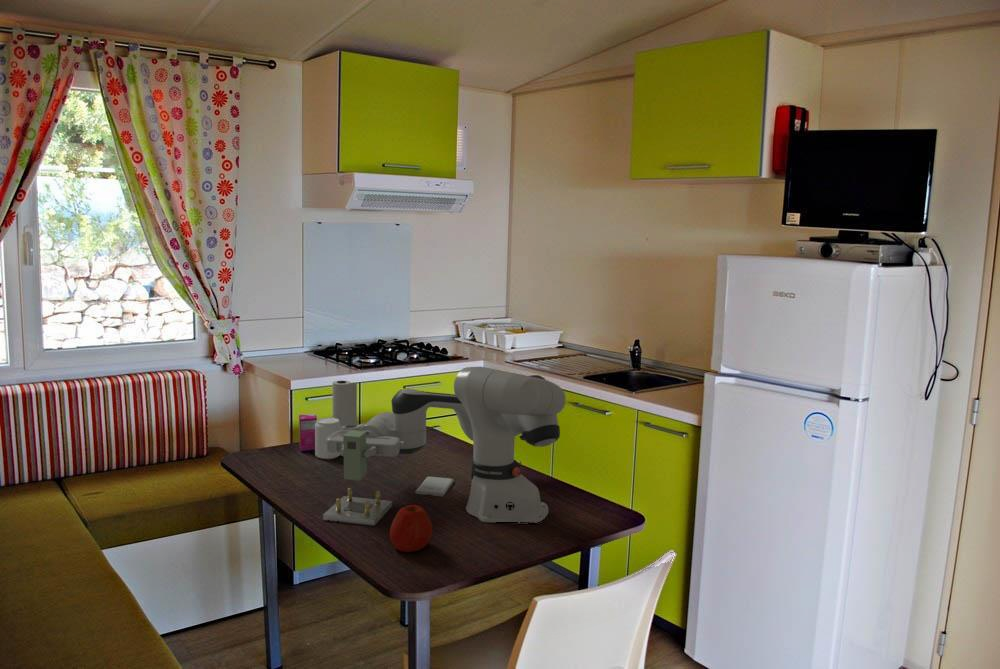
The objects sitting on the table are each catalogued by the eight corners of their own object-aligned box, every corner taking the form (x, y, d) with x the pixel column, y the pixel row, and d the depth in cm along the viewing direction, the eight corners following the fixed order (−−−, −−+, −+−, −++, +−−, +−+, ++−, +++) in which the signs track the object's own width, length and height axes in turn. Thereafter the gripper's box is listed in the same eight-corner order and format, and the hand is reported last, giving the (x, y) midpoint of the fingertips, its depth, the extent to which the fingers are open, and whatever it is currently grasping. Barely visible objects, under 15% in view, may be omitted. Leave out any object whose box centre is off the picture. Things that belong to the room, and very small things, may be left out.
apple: (432, 556, 193) (432, 514, 191) (388, 556, 192) (388, 514, 190) (432, 538, 203) (433, 498, 201) (390, 538, 202) (391, 498, 200)
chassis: (391, 506, 223) (392, 488, 222) (374, 525, 210) (374, 507, 209) (343, 501, 226) (343, 483, 225) (323, 520, 212) (323, 501, 211)
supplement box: (299, 447, 273) (298, 414, 271) (317, 446, 275) (316, 413, 273) (299, 452, 267) (299, 418, 266) (318, 451, 269) (318, 417, 267)
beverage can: (316, 452, 268) (316, 417, 266) (341, 452, 269) (341, 417, 267) (313, 460, 260) (313, 423, 258) (339, 460, 261) (339, 423, 259)
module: (366, 474, 220) (366, 431, 218) (360, 480, 215) (359, 436, 213) (350, 472, 221) (350, 430, 219) (344, 479, 216) (343, 435, 214)
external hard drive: (453, 484, 244) (442, 498, 232) (427, 481, 245) (415, 495, 233) (453, 478, 244) (442, 492, 232) (427, 476, 245) (415, 490, 233)
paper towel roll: (328, 442, 279) (328, 381, 275) (341, 438, 284) (341, 379, 280) (343, 446, 275) (343, 385, 271) (356, 442, 280) (356, 382, 276)
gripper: (406, 452, 228) (391, 468, 215) (337, 446, 232) (318, 462, 219) (406, 430, 227) (391, 445, 214) (337, 425, 231) (317, 439, 217)
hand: (353, 454), depth 216 cm, fingers closed on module, 4 cm apart
